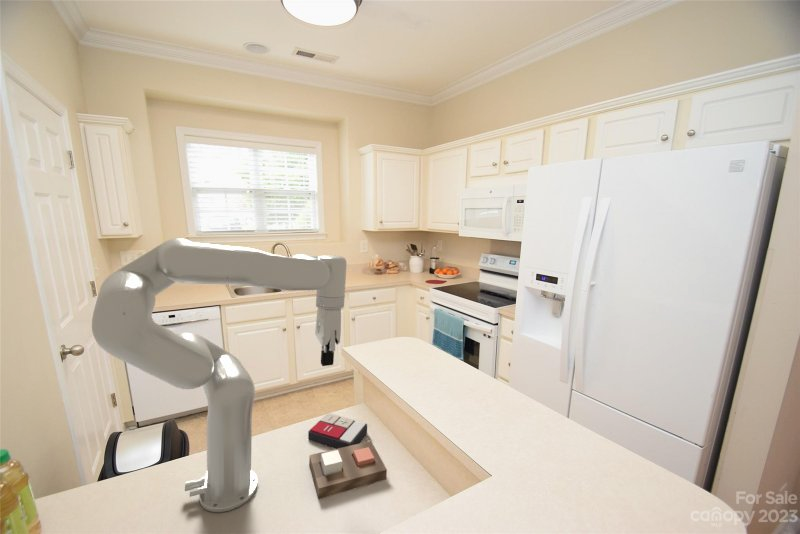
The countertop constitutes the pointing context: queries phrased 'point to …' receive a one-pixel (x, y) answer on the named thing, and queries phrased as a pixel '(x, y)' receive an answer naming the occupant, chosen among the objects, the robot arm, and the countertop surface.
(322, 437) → the calculator
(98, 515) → the countertop surface
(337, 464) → the white key
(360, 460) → the salmon pink key
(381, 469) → the key panel
